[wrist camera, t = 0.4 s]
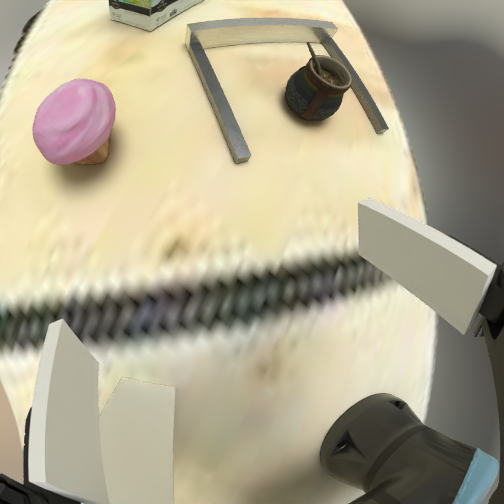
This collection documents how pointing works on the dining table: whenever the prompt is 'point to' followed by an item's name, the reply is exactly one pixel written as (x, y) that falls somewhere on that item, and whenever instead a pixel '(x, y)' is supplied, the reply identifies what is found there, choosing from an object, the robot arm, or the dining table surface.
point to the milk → (138, 443)
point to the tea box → (147, 11)
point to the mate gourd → (318, 87)
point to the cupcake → (75, 123)
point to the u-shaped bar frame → (261, 32)
